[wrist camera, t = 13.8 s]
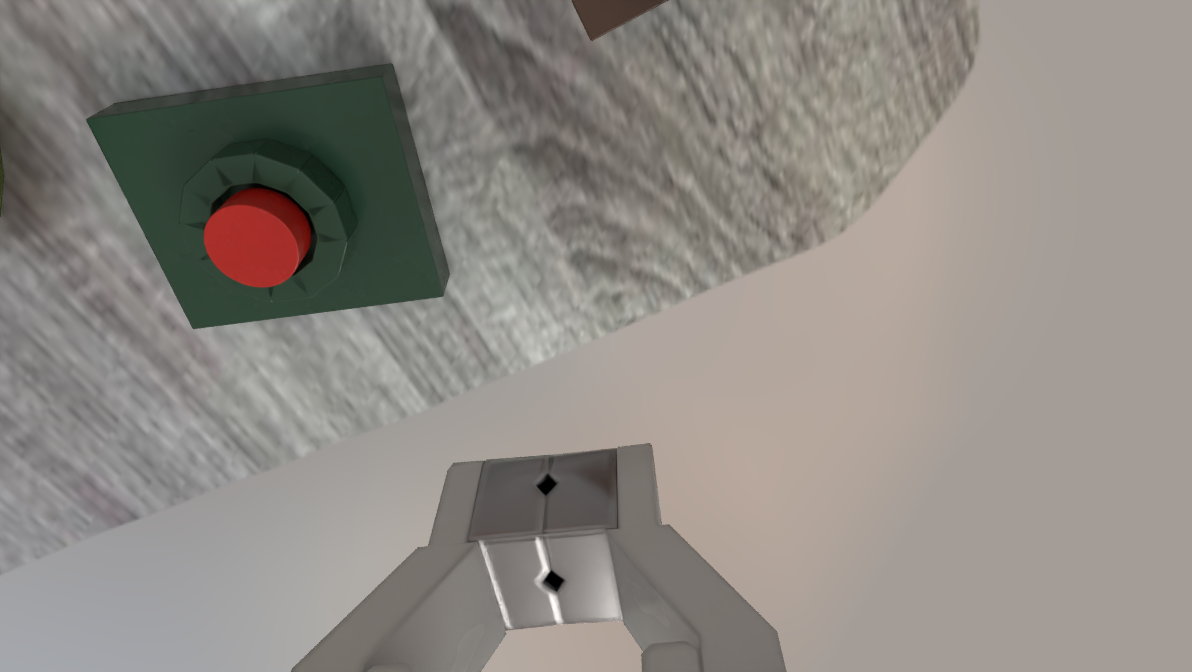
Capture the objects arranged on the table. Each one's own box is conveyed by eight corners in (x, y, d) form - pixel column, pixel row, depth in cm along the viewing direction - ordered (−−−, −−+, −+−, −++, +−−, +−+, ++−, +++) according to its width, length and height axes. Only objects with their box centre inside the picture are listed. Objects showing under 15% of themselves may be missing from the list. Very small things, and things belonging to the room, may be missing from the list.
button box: (392, 62, 31) (370, 88, 27) (450, 274, 36) (437, 317, 33) (113, 103, 31) (58, 133, 28) (211, 306, 36) (175, 351, 33)
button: (293, 181, 29) (279, 199, 28) (323, 262, 31) (311, 281, 30) (206, 194, 30) (187, 211, 28) (241, 272, 32) (225, 292, 30)
